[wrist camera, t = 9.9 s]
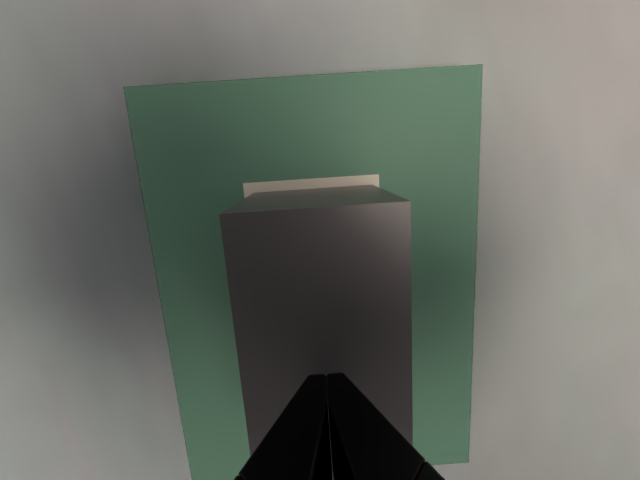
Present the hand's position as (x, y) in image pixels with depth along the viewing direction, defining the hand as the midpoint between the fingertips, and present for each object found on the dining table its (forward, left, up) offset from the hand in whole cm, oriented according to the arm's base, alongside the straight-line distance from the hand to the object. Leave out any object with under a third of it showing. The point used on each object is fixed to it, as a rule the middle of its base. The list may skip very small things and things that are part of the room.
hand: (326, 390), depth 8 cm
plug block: (0, 0, -5) cm, 5 cm away
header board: (0, 0, -7) cm, 7 cm away
